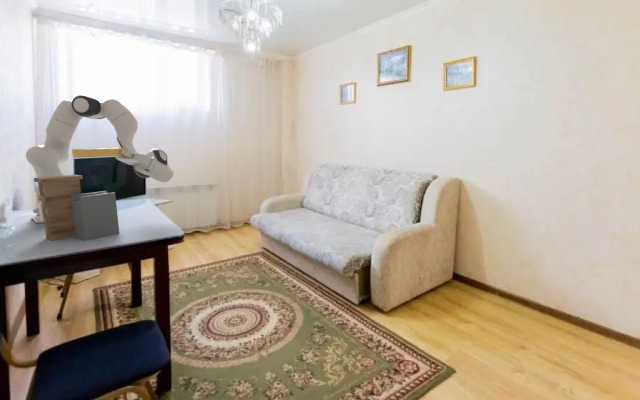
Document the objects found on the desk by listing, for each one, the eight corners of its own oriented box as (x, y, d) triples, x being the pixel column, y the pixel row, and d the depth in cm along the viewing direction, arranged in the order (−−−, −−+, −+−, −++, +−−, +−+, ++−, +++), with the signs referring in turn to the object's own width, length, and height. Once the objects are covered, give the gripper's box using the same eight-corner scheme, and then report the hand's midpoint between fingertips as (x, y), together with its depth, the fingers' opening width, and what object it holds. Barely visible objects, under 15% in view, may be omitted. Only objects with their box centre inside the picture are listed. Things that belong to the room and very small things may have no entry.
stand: (42, 238, 149) (33, 177, 144) (81, 231, 161) (74, 174, 156) (49, 241, 145) (41, 179, 140) (89, 233, 157) (82, 175, 153)
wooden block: (76, 157, 148) (75, 149, 147) (72, 157, 150) (71, 149, 149) (128, 155, 166) (127, 148, 166) (124, 155, 168) (123, 147, 167)
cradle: (76, 237, 150) (70, 195, 147) (110, 230, 162) (105, 190, 159) (85, 240, 146) (79, 197, 143) (119, 233, 158) (115, 192, 154)
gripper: (134, 157, 181) (109, 144, 170) (158, 159, 170) (132, 145, 159) (129, 168, 179) (103, 156, 168) (153, 170, 169) (127, 157, 158)
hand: (117, 151), depth 164 cm, fingers closed on wooden block, 3 cm apart
